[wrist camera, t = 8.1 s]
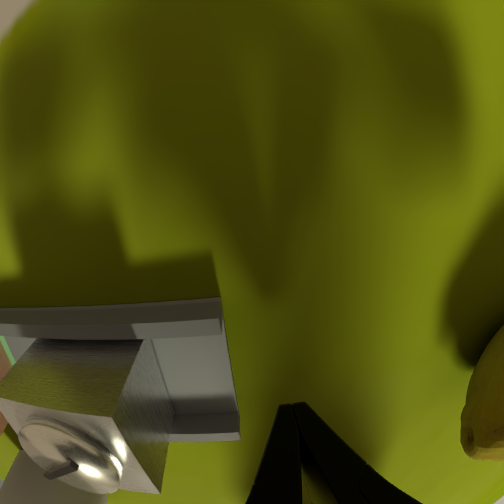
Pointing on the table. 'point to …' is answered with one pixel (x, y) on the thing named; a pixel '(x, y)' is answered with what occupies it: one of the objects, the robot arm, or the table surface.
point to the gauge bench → (165, 347)
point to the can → (41, 487)
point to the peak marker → (3, 365)
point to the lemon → (485, 405)
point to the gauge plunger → (91, 412)
